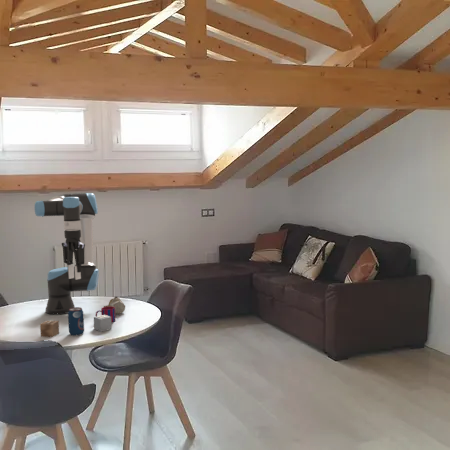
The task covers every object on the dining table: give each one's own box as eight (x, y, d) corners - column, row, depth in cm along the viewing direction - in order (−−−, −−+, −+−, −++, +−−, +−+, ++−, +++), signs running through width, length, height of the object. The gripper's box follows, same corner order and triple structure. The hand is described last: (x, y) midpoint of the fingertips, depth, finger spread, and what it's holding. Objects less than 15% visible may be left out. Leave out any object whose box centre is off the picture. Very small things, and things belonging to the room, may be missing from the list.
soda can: (82, 335, 261) (81, 310, 260) (67, 336, 261) (66, 311, 260) (85, 331, 268) (84, 306, 267) (70, 332, 268) (69, 307, 266)
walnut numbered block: (40, 336, 262) (40, 323, 261) (47, 332, 268) (46, 319, 267) (52, 337, 260) (52, 323, 260) (59, 333, 266) (58, 320, 266)
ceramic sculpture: (109, 299, 294) (101, 295, 308) (110, 316, 295) (102, 311, 308) (129, 297, 299) (121, 293, 313) (130, 313, 300) (121, 309, 313)
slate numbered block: (94, 329, 272) (93, 316, 272) (105, 326, 276) (104, 314, 276) (100, 331, 268) (100, 318, 267) (111, 329, 272) (111, 316, 271)
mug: (117, 321, 284) (116, 308, 284) (97, 324, 279) (97, 311, 279) (112, 318, 290) (112, 305, 289) (93, 321, 285) (93, 308, 284)
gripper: (54, 229, 269) (56, 278, 272) (79, 231, 260) (81, 281, 263) (66, 228, 275) (68, 275, 278) (91, 229, 266) (93, 278, 269)
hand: (74, 278), depth 270 cm, fingers open, 4 cm apart
